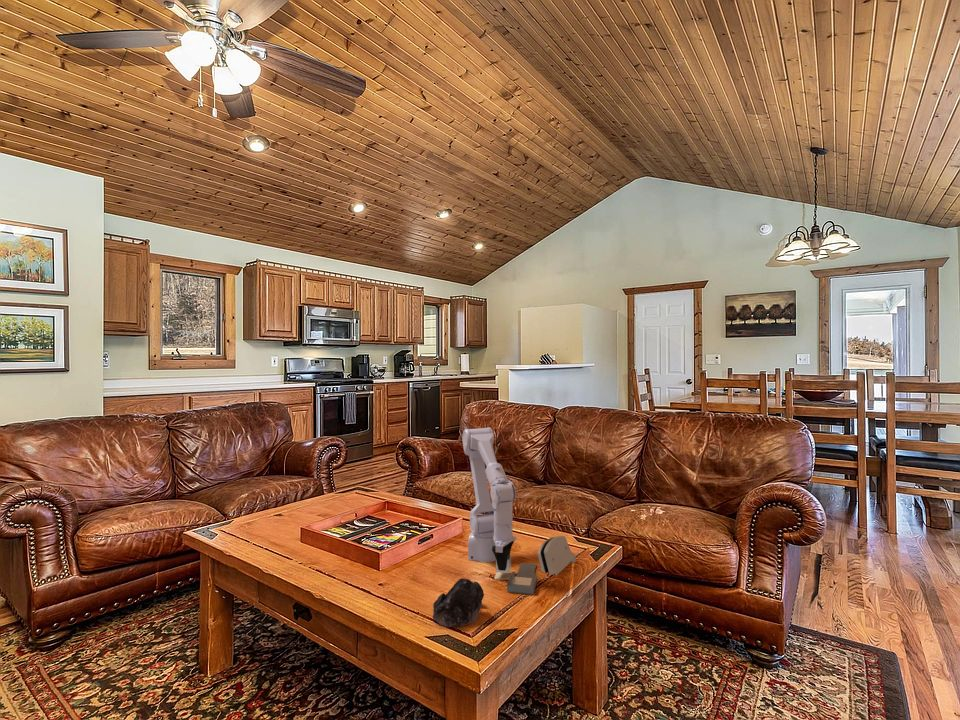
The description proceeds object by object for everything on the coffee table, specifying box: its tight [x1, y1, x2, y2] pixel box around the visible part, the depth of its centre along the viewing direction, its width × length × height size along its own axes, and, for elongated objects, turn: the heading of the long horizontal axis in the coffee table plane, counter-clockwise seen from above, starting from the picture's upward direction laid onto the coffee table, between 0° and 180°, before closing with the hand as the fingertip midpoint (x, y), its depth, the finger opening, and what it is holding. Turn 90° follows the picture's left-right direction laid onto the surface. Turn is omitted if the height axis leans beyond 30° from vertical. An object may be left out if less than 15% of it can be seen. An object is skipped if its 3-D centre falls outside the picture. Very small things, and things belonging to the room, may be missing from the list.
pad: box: [493, 572, 512, 581], centre depth 150 cm, size 5×5×1 cm
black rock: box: [432, 577, 485, 628], centre depth 129 cm, size 13×14×10 cm
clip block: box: [495, 554, 512, 573], centre depth 150 cm, size 4×4×5 cm
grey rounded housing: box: [537, 535, 578, 576], centre depth 159 cm, size 17×5×10 cm, turn 148°
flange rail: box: [506, 562, 538, 596], centre depth 148 cm, size 8×19×3 cm, turn 167°
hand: (503, 566), depth 150 cm, fingers closed on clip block, 4 cm apart
